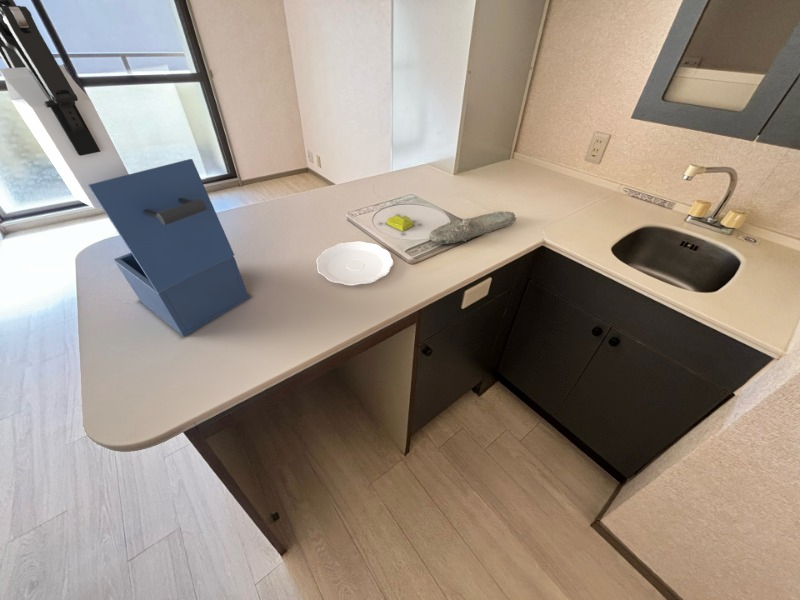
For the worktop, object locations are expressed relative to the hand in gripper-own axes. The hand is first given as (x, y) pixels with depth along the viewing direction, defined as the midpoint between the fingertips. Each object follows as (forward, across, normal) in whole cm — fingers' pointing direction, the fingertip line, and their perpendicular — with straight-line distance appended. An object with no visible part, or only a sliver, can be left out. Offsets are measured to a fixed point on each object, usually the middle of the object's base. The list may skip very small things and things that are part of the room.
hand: (79, 147), depth 52 cm
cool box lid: (+13, -9, -5) cm, 16 cm away
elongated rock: (+36, -40, -78) cm, 95 cm away
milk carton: (+9, 0, 0) cm, 9 cm away
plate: (+36, -22, -39) cm, 57 cm away
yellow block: (+36, -18, -66) cm, 78 cm away
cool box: (+35, -1, -5) cm, 36 cm away
